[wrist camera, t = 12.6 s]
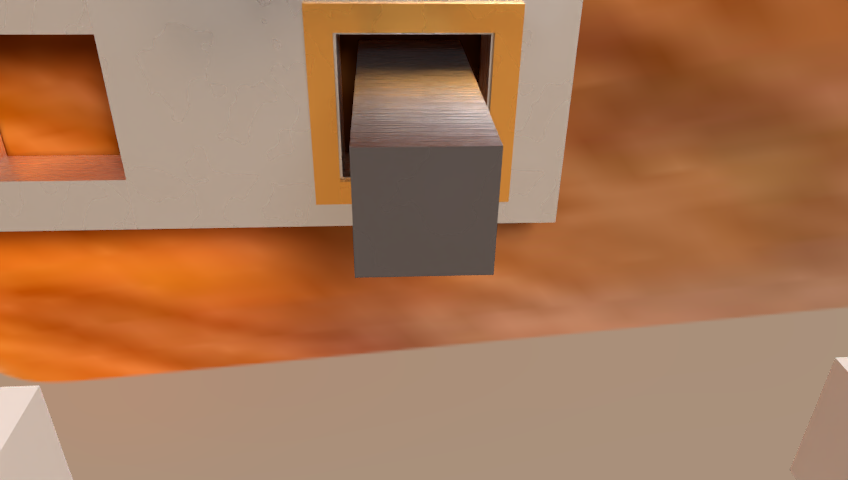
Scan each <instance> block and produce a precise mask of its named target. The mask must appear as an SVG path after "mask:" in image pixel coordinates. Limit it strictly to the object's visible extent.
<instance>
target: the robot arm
mask: <svg viewBox="0 0 848 480" xmlns="http://www.w3.org/2000/svg"><path fill="white" fill-rule="evenodd" d="M790 471H791V472H792V474H793V475H794V477H795V479H796V480H848V357H842V358H835V360H834V362H833V365H832V367H831V370H830V372H829V375H828V377H827V380H826V382H825V384H824V387H823V389H822V392H821V394H820V397H819V399H818V402H817V404H816V407H815V409H814V412H813V414H812V416H811V419H810V421H809V424H808V427H807V429H806V431H805V434H804V436H803V439H802V441H801V444H800V446H799V448H798V451H797V454H796V456H795V458H794V461H793V463H792V466H791V468H790ZM0 480H73V479H72V476H71V474H70V470H69V468H68V465H67V462H66V459H65V456H64V453H63V451H62V448H61V445H60V442H59V440H58V437H57V434H56V431H55V428H54V425H53V422H52V420H51V417H50V414H49V411H48V408H47V405H46V403H45V400H44V397H43V394H42V391H41V388H40V386H13V387H0Z"/></svg>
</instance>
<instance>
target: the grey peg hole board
mask: <svg viewBox="0 0 848 480" xmlns="http://www.w3.org/2000/svg"><path fill="white" fill-rule="evenodd" d="M582 3H583V0H0V35H63V34H94V37H95V42H96V46H97V51H98V55H99V60H100V64H101V69H102V73H103V78H104V82H105V87H106V91H107V96H108V100H109V105H110V109H111V114H112V118H113V123H114V127H115V132H116V136H117V141H118V145H119V150H120V154H121V155H75V156H7V154H6V150H5V147H4V144H3V141H2V138H1V134H0V232H6V231H66V230H126V229H185V228H245V227H305V226H353V221H352V198H351V175H350V153H345V140H344V119H343V97H342V76H341V54H340V34H481V51H480V69H479V88H480V91H481V93H482V96H483V98H484V100H485V103H486V105H487V108H488V110H489V113H490V115H491V117H492V120H493V122H494V125H495V127H496V129H497V132H498V134H499V137H500V139H501V142H502V144H503V156H502V169H501V182H500V195H499V208H498V221H497V223H543V222H555V220H556V212H557V204H558V196H559V188H560V180H561V172H562V164H563V156H564V148H565V140H566V132H567V124H568V116H569V108H570V100H571V92H572V84H573V76H574V68H575V60H576V51H577V43H578V35H579V27H580V19H581V11H582Z"/></svg>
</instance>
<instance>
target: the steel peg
mask: <svg viewBox="0 0 848 480" xmlns="http://www.w3.org/2000/svg"><path fill="white" fill-rule="evenodd" d="M349 152H350V175H351V198H352V221H353V245H354V268H355V278H358V277H406V276H454V275H493V274H494V261H495V248H496V234H497V221H498V208H499V195H500V182H501V169H502V156H503V144H502V142H501V139H500V137H499V134H498V132H497V129H496V127H495V125H494V122H493V120H492V117H491V115H490V113H489V110H488V108H487V105H486V103H485V100H484V98H483V96H482V93H481V91H480V88H479V86H478V83H477V81H476V79H475V76H474V74H473V71H472V69H471V66H470V64H469V62H468V59H467V57H466V54H465V52H464V50H463V47H462V45H461V42H460V40H359V42H358V54H357V65H356V77H355V88H354V100H353V111H352V122H351V134H350V145H349Z"/></svg>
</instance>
